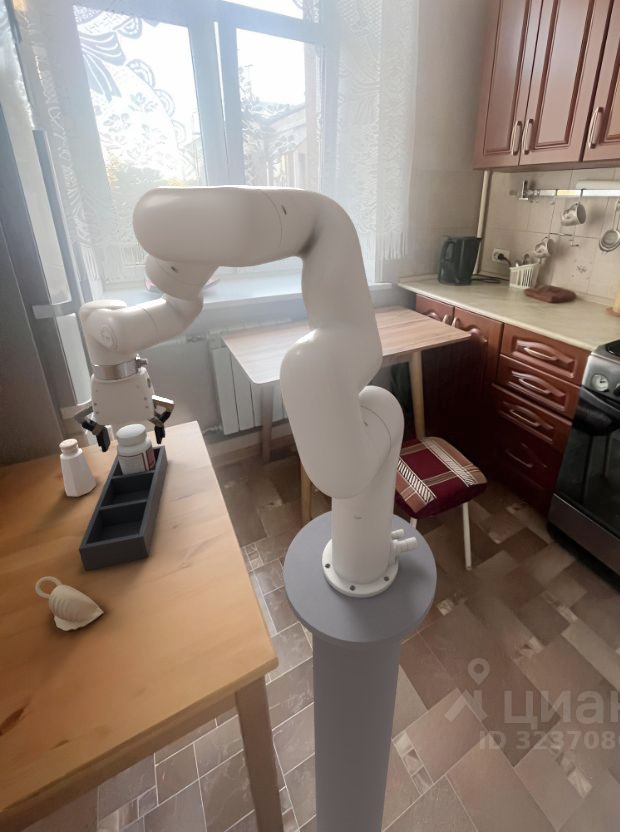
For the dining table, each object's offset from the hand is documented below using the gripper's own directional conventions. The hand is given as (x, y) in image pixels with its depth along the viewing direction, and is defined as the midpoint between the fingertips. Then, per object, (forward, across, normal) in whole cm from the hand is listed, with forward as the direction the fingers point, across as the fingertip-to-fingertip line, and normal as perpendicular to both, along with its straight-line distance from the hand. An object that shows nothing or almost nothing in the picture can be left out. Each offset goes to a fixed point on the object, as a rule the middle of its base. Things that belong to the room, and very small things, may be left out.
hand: (134, 444), depth 79 cm
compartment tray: (+9, 0, +8) cm, 12 cm away
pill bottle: (+8, 0, 0) cm, 8 cm away
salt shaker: (+9, +11, 0) cm, 14 cm away
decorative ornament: (+9, +4, +28) cm, 30 cm away
